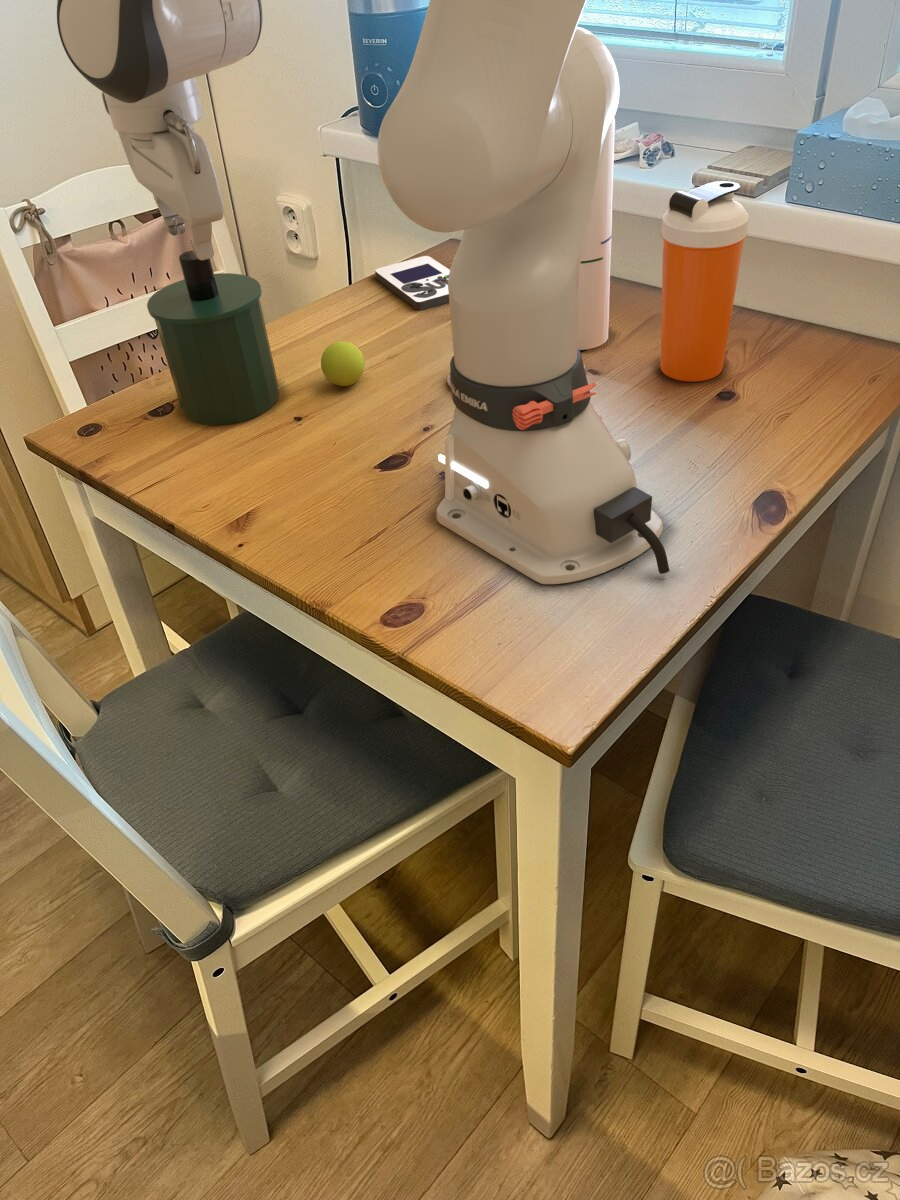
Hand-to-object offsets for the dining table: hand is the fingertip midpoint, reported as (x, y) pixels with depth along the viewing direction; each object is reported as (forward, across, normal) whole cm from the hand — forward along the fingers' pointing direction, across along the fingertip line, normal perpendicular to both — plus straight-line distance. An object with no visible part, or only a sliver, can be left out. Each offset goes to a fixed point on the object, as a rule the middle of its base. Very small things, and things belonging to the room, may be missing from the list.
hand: (190, 244), depth 101 cm
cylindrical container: (+19, -13, -42) cm, 48 cm away
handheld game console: (+19, +15, -35) cm, 42 cm away
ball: (+16, -5, -13) cm, 21 cm away
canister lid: (+6, 0, 0) cm, 6 cm away
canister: (+19, 0, 0) cm, 19 cm away
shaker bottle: (+18, -28, -47) cm, 58 cm away
